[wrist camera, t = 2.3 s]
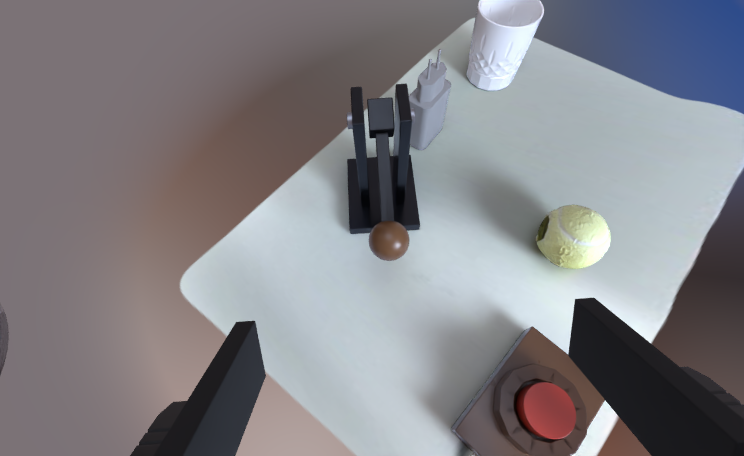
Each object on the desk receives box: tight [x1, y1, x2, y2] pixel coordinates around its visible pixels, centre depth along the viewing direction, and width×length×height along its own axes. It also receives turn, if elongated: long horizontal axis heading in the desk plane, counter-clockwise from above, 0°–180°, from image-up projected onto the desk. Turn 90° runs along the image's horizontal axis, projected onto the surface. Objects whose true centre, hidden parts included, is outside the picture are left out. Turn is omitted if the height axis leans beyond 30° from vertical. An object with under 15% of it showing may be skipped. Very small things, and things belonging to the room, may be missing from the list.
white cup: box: [467, 0, 544, 91], centre depth 48 cm, size 8×8×10 cm
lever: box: [367, 98, 409, 261], centre depth 32 cm, size 14×4×4 cm, turn 4°
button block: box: [451, 327, 605, 456], centre depth 31 cm, size 12×8×4 cm, turn 136°
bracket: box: [347, 84, 420, 234], centre depth 37 cm, size 10×8×15 cm
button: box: [517, 382, 576, 439], centre depth 29 cm, size 4×4×2 cm
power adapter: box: [409, 49, 451, 150], centre depth 42 cm, size 3×5×12 cm, turn 143°
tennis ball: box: [535, 205, 611, 269], centre depth 37 cm, size 6×7×7 cm
